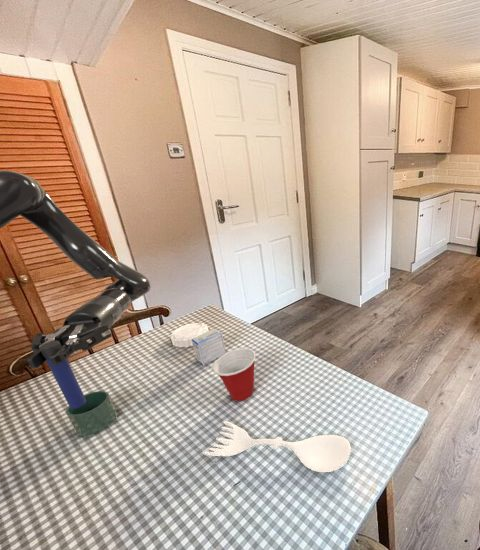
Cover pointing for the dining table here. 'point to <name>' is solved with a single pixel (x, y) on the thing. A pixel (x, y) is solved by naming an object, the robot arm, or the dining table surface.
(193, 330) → the mooncake
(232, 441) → the white spork
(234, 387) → the plastic cup
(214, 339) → the medicine box
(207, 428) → the dining table surface
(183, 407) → the dining table surface
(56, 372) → the marker
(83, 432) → the tumbler
